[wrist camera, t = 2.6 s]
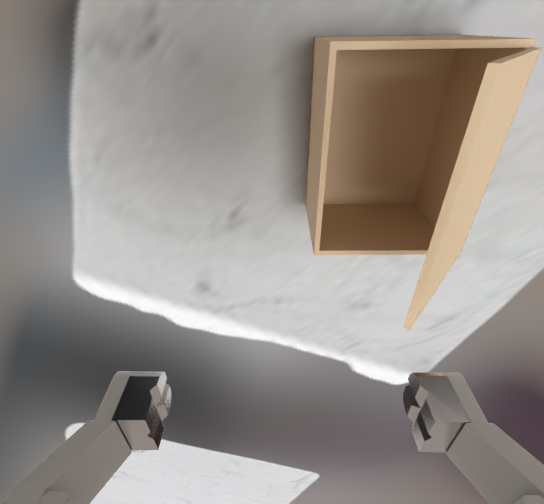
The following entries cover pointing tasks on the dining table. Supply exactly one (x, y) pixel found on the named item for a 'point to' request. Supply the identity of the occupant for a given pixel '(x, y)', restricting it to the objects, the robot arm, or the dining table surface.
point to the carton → (389, 135)
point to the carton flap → (473, 169)
